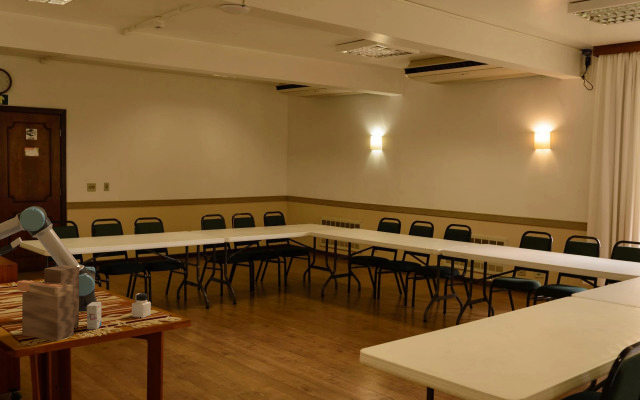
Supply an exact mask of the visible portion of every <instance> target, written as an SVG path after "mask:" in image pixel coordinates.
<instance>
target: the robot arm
mask: <svg viewBox="0 0 640 400" xmlns="http://www.w3.org/2000/svg"><path fill="white" fill-rule="evenodd" d="M21 231H27V232H28V234H29V235H30V236H31V238H36V239H38V241H39V242H40V244H41V245H42V247H44V249H45V250H46V252H48V254H49V255H50V257H51V258H52V259H53V261H54V262H55V263H56V264H57V266H61V265H67V266H76V267H79V312H85V311H86V312H87V306H88V305H89V304H90V303H91V302H98V299H97V296H96V268H95V267H94V266H85V265H83V264H80V263H79V262H78V260H76V258H75V257H74V256H73V254H72V253H71V252H70V250H69V249H68V248H67V246H66V245H65V243H64V242H63V240H61V238H60V237H59V236H58V235H57V233H56V232H55V230H54V229H53V223H52V222H51V220H50V218H49V217H48V214H47V211H46V210H45V209H44V208H43V207H41V206H39V205H33V206H29V207H27V208H25V209H24V210H23V211H21V212H19V213H16V216H15V217H13V218H10V219H8V220H6V221H3V222H1V223H0V240H3V239H5V238H7V237H10V236H11V235H13V234H14V235H15V234H16V233H18V232H21ZM22 243H23V240H22V238H21V237H17V238H15V240H13V241H11V242H10V243H9V244H6V245H4V246H1V247H0V257H1V256H3V255H5V254H7V253H9V252H12V251H14V250H16V249H17V248H18V247H17V246H19V245H21V244H22Z"/></svg>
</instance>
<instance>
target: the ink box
mask: <svg viewBox="0 0 640 400" xmlns="http://www.w3.org/2000/svg"><path fill="white" fill-rule="evenodd" d="M101 326H102V301H97V302H91V303H90V304H89V305H88V306H87V311H86V330H98V329H99V328H100V327H101Z"/></svg>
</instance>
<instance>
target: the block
mask: <svg viewBox="0 0 640 400" xmlns="http://www.w3.org/2000/svg"><path fill="white" fill-rule="evenodd" d="M31 284H35V285H43V286H50V287H61V286H64V285H58V284H50V283H43V281H35V280H27V279H26V280H25V279H23V280H18V281H17V282H16V288H17V289H16V290H17V291H23V292H27V291H29V292H30V285H31Z"/></svg>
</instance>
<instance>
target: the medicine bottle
mask: <svg viewBox="0 0 640 400" xmlns="http://www.w3.org/2000/svg"><path fill="white" fill-rule="evenodd" d="M151 309H152V303H151V301H148V294H147V293H145V292H139V293H136V294H135V302H132V303H131V317H134V318H140V317H141V319H144V318H146V317H148V316H149V317H150V316H151V315H152V313H151V311H152V310H151Z"/></svg>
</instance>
